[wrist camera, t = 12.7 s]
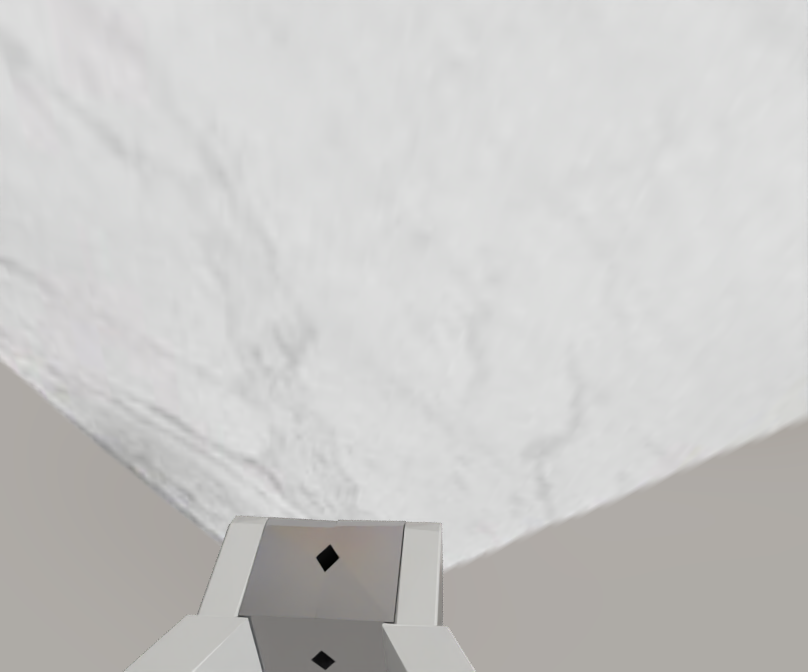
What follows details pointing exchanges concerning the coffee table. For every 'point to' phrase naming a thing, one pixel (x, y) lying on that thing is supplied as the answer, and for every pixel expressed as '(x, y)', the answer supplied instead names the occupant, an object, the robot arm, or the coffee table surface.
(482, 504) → the coffee table surface
